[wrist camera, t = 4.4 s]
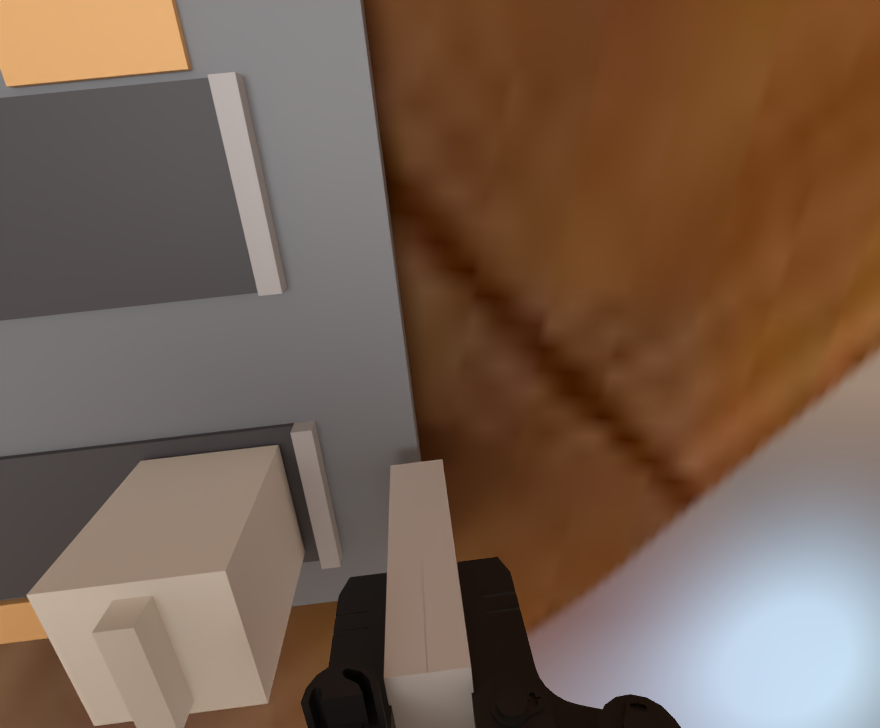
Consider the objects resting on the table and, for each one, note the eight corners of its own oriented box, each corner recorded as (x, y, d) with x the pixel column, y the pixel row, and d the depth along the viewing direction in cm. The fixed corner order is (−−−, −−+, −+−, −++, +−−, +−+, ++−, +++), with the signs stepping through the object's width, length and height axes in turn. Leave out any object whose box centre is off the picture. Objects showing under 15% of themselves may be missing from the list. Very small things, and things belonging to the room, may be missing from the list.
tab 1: (179, 567, 17) (74, 763, 11) (140, 460, 15) (-2, 628, 10) (304, 552, 17) (259, 739, 11) (278, 444, 15) (211, 602, 10)
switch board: (-103, 614, 19) (-174, 679, 17) (-463, 62, 13) (-665, 41, 10) (432, 548, 20) (436, 602, 18) (361, -14, 13) (352, -52, 11)
